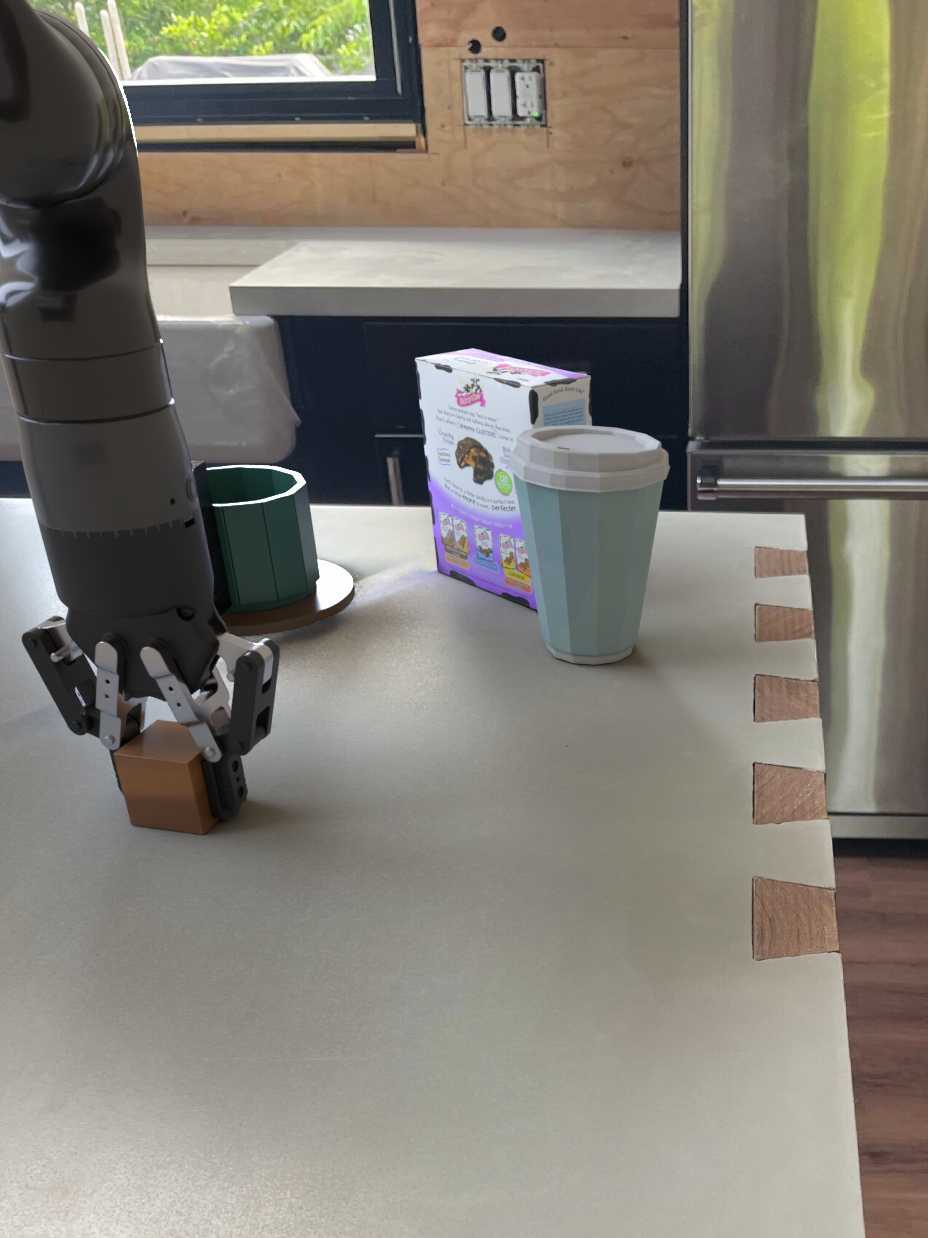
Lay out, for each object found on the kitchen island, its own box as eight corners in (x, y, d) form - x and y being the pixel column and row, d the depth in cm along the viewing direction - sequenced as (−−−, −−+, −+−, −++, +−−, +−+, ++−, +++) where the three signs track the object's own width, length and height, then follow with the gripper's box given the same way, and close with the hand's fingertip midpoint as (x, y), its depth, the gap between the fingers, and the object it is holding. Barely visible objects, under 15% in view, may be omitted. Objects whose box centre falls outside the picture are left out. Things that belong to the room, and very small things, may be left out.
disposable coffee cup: (557, 612, 101) (548, 405, 92) (691, 633, 98) (694, 421, 90) (494, 665, 93) (477, 442, 84) (638, 688, 90) (636, 461, 81)
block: (203, 835, 73) (187, 763, 70) (131, 825, 74) (112, 753, 71) (243, 797, 76) (229, 727, 74) (173, 788, 77) (157, 719, 75)
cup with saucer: (197, 560, 106) (167, 410, 100) (380, 570, 105) (362, 419, 98) (91, 644, 92) (47, 476, 85) (302, 657, 90) (274, 487, 84)
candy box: (600, 597, 104) (595, 373, 94) (542, 616, 100) (530, 385, 91) (490, 554, 112) (474, 343, 102) (432, 570, 108) (411, 353, 99)
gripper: (-63, 512, 63) (33, 824, 73) (211, 537, 61) (273, 857, 71) (34, 469, 70) (111, 763, 79) (287, 491, 67) (334, 791, 77)
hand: (187, 806), depth 75 cm, fingers closed on block, 4 cm apart
